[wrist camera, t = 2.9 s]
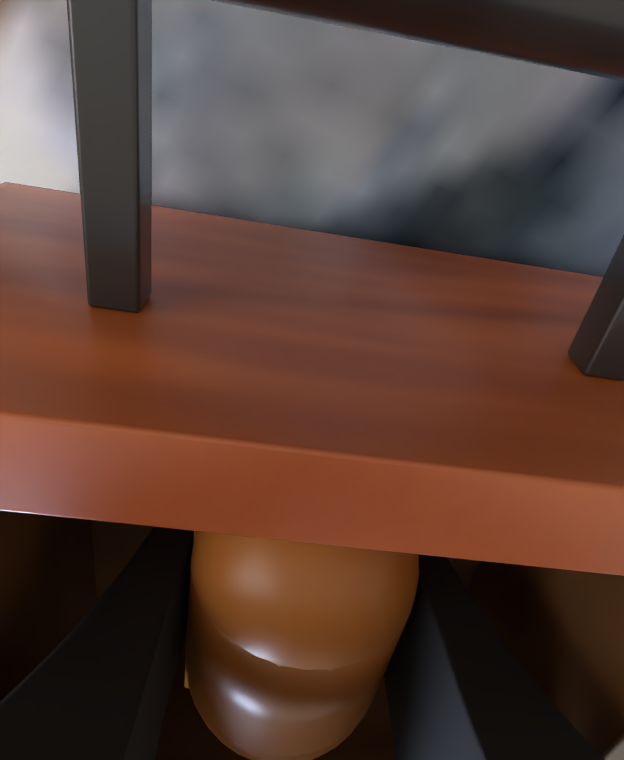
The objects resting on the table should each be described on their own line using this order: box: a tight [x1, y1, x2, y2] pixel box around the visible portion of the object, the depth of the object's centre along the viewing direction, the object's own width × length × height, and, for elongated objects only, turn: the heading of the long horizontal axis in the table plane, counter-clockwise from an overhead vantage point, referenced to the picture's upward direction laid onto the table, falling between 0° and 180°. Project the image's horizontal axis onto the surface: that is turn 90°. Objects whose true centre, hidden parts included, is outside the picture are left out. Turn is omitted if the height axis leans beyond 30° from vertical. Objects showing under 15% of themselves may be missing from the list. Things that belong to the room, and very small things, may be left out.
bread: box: [184, 531, 419, 760], centre depth 11 cm, size 4×7×4 cm, turn 171°
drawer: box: [0, 0, 624, 760], centre depth 10 cm, size 18×12×6 cm
